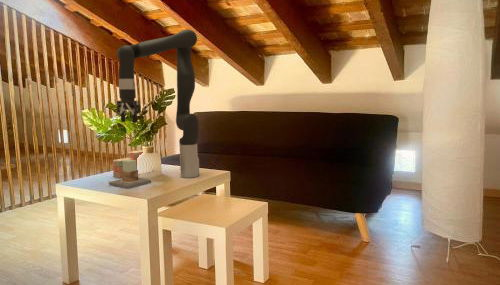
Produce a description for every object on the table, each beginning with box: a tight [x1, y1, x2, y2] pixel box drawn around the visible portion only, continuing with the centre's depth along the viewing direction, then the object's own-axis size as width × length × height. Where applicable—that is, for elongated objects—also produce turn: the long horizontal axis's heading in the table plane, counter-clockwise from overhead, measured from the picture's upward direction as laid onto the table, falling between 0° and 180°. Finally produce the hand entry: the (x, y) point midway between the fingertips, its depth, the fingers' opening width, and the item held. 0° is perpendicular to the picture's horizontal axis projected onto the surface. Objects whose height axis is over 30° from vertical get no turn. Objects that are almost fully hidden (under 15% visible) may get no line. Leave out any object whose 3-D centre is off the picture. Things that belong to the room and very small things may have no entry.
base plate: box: [108, 177, 152, 190], centre depth 192 cm, size 14×14×2 cm
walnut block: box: [121, 170, 139, 183], centre depth 192 cm, size 6×6×5 cm
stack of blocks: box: [112, 149, 143, 179], centre depth 214 cm, size 21×6×12 cm, turn 142°
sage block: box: [122, 160, 137, 172], centre depth 191 cm, size 4×4×5 cm
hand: (129, 122), depth 191 cm, fingers open, 8 cm apart
